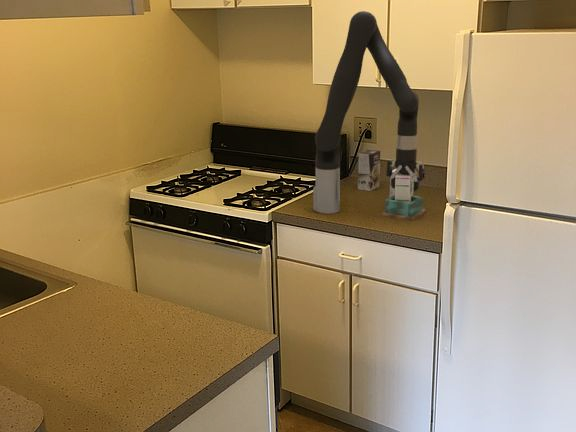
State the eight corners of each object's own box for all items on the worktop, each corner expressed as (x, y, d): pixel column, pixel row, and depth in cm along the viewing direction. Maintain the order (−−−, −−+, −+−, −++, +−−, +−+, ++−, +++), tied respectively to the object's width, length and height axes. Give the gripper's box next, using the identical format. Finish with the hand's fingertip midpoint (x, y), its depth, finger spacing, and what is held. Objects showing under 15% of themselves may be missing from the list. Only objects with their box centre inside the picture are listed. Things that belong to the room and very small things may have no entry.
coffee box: (370, 191, 274) (371, 154, 269) (357, 189, 277) (357, 152, 272) (379, 186, 281) (380, 150, 276) (366, 184, 284) (367, 149, 279)
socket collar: (380, 215, 241) (381, 200, 239) (394, 206, 251) (395, 192, 249) (413, 221, 234) (413, 205, 232) (426, 211, 244) (427, 196, 243)
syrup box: (409, 213, 239) (411, 176, 235) (393, 212, 241) (395, 175, 236) (411, 209, 244) (412, 172, 240) (395, 208, 246) (396, 171, 242)
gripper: (384, 146, 236) (383, 189, 240) (421, 150, 228) (418, 194, 233) (392, 143, 242) (391, 184, 246) (428, 146, 234) (426, 189, 239)
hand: (404, 189), depth 240 cm, fingers open, 8 cm apart
